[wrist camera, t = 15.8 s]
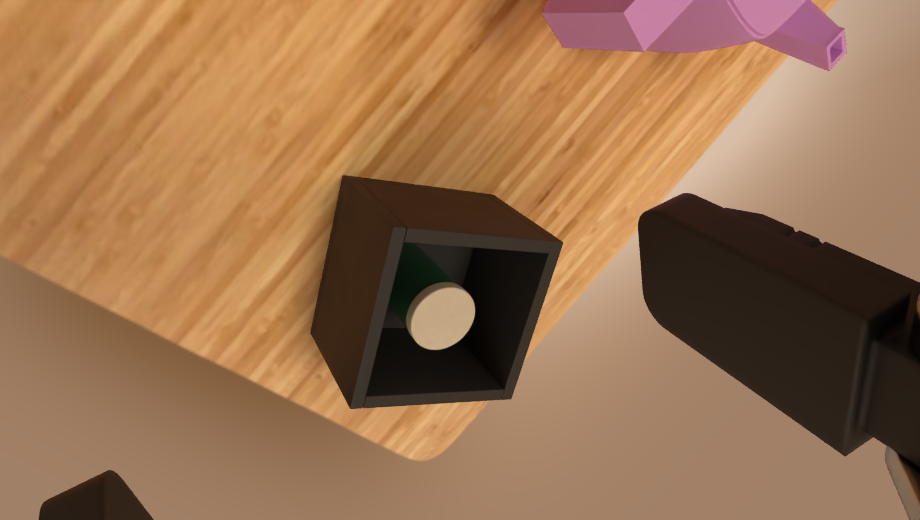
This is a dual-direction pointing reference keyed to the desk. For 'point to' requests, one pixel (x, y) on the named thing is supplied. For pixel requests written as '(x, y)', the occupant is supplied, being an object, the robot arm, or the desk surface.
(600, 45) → the teapot
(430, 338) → the tube
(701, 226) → the robot arm
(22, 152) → the desk surface
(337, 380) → the bin
